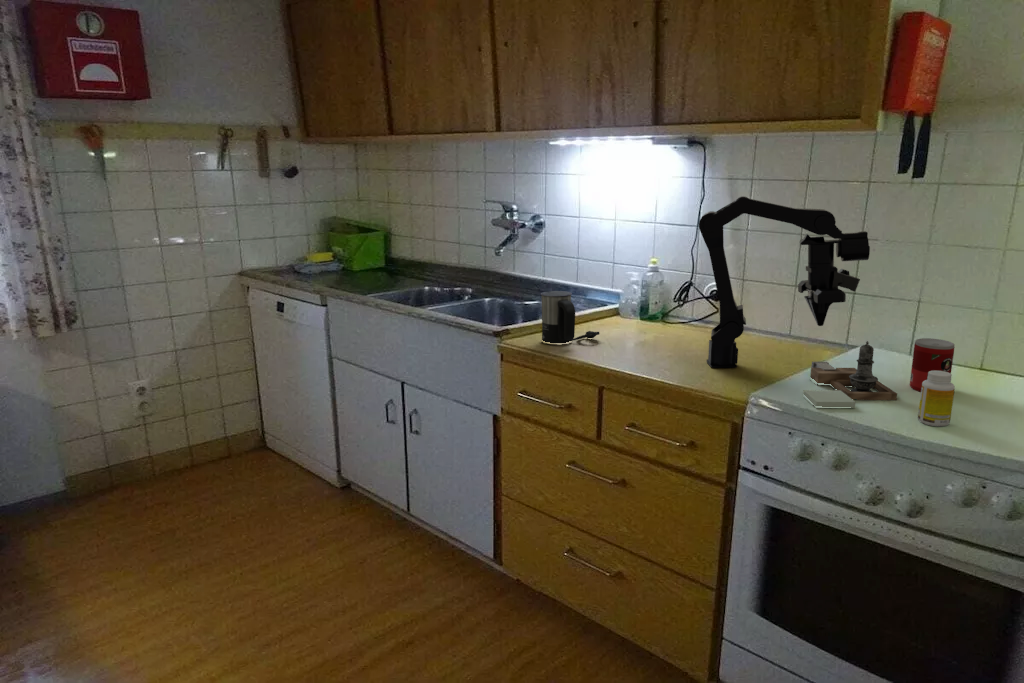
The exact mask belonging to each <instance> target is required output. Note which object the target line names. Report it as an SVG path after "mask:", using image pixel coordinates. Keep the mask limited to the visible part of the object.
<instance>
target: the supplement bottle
mask: <svg viewBox="0 0 1024 683" xmlns="http://www.w3.org/2000/svg"><path fill="white" fill-rule="evenodd" d="M955 386H956V385H955V384H954V383H953V382H952V372H951V373H948V372H945V371H936V370H934V371H929V372H928V378H927V380H925V381H923V382H922V388H921V392H920V397H919V406H918V412H917V413H918V414H917V419H918V421H919V422H920V423H922V424H924V425H927V426H933V427H947V426H948V425H950V423H951V417H952V411H953V410H952V409H953V405H954V404H953V403H954V396H955V389H956V388H955Z"/></svg>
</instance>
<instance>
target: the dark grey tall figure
mask: <svg viewBox="0 0 1024 683" xmlns="http://www.w3.org/2000/svg"><path fill="white" fill-rule="evenodd" d="M873 358H874V347H873V346H872V345H870V342H869V341H865V344H863V345H861V346H860V347H859V352H858V359H856V362H857V368H856V369H857V371H856V373H855V374H852V375H850V376H849V378H850V381H851V384H852V385H853V386H854V387H852V388H851V389H850V390H851V392H874V390H872V389H874V388H873V387H874V386H875V385H876V381H879V378H878V377H877V376H874V375H873V374H874V373H873V364H875V361H874V360H873Z"/></svg>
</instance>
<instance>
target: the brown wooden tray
mask: <svg viewBox="0 0 1024 683" xmlns="http://www.w3.org/2000/svg"><path fill="white" fill-rule="evenodd" d="M835 369H836V371H824V370H823V369H822V368H810V375H809V376H810V377H811V378H812V379H814V380H815V381H816V382H817V383H824V384H831V385H832V386H833V387H834V388H835V389H837V390H841V391H842V392H843V393H845V394H846V395H847V396H848V397H850V398H851V399H857V400H856V401H897V400H898V393H897V392H896V391H894V390H893V389H891V388H889V387H888V386H886V385H885V384H883V383H882V382H881V381H879V380H878V381H876V385H875V386H874V387H873V388H872V389H874V390H875V391H873V392H851V391H850V390H851V389H850V388H848V387H845V386H852V387H851V388H855V387H854V386H853V385H852V384H851V381H850V378H849V376H850V375H852V374H855V373H856V371H857V368H855V367H836V368H835ZM810 377H809V378H810Z"/></svg>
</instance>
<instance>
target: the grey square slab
mask: <svg viewBox="0 0 1024 683" xmlns="http://www.w3.org/2000/svg"><path fill="white" fill-rule="evenodd" d="M803 394H804V395H805V396H806V397H807V398H808V399H809V400H810V401H811V402H812V403H813V404H814V405H815V406H822V407H851V408H855V409H856V400H852V399H851V398H850V397H848V396H847V395H846V394H845V393H843V392H842V391H841V390H834V389H833V390H829V389H828V390H826V389H825V390H823V389H821V390H820V389H819V390H817V389H815V390H814V389H811V390H809V389H805V390H803V392H802V395H803Z"/></svg>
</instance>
